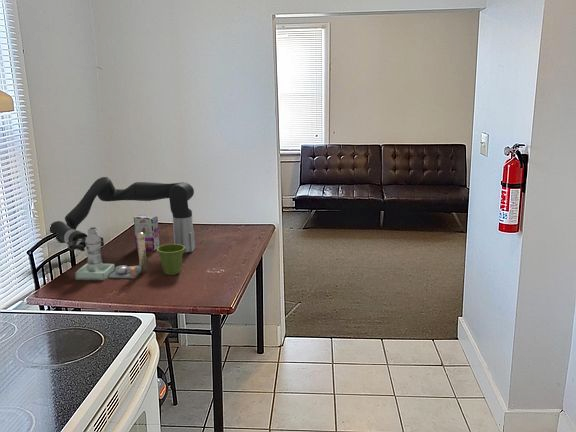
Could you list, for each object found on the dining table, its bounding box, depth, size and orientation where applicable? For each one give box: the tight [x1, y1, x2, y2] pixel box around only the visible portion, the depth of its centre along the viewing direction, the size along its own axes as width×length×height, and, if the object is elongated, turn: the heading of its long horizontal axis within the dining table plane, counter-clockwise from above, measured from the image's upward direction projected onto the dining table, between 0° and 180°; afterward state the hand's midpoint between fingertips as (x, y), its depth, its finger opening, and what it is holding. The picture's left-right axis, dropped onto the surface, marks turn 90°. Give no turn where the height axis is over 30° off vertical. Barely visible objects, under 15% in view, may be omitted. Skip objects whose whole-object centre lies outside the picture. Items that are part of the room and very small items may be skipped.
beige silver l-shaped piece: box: [115, 232, 148, 274], centre depth 234 cm, size 13×5×17 cm, turn 106°
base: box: [108, 269, 142, 279], centre depth 235 cm, size 11×8×1 cm
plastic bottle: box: [85, 226, 104, 272], centre depth 232 cm, size 6×7×20 cm
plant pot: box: [156, 243, 185, 276], centre depth 236 cm, size 12×12×11 cm
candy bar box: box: [133, 214, 161, 252], centre depth 269 cm, size 11×5×16 cm, turn 68°
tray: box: [74, 262, 116, 281], centre depth 234 cm, size 13×12×3 cm
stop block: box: [131, 267, 135, 275], centre depth 233 cm, size 2×3×3 cm, turn 18°
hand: (93, 246), depth 231 cm, fingers open, 8 cm apart
